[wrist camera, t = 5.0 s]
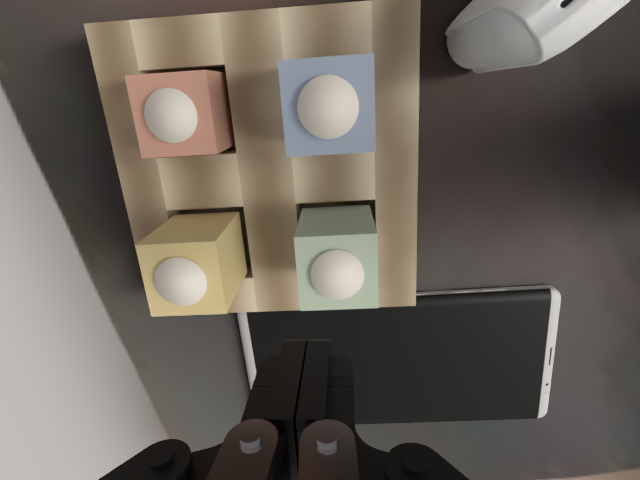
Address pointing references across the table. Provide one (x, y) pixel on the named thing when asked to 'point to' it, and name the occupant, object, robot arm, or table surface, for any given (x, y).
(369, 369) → the smartphone
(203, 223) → the button
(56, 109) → the table surface
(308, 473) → the robot arm
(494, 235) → the table surface
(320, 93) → the button
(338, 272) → the button
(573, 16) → the photo printer
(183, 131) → the button
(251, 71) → the board
